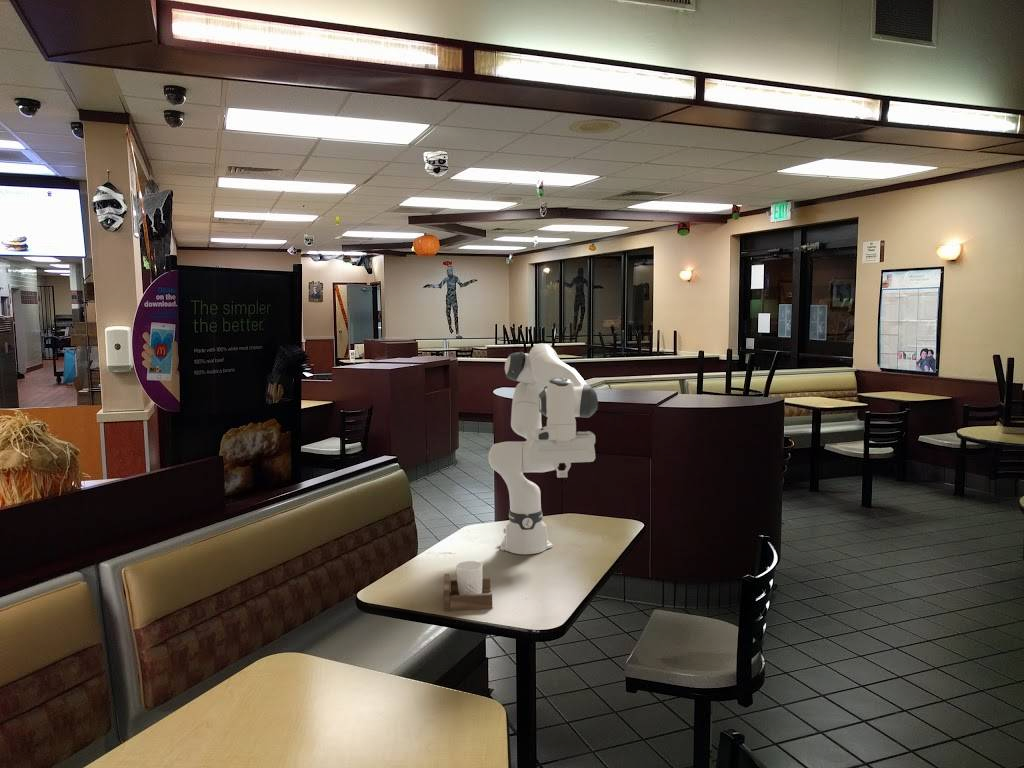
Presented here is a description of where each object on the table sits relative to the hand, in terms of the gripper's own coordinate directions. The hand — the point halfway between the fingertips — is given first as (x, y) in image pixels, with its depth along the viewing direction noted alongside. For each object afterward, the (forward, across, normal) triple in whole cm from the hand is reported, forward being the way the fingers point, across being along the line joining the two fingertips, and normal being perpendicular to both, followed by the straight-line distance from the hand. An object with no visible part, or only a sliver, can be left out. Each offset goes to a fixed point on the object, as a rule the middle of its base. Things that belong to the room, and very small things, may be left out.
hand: (562, 477), depth 206 cm
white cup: (+34, +29, +5) cm, 45 cm away
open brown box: (+34, +29, +7) cm, 45 cm away
